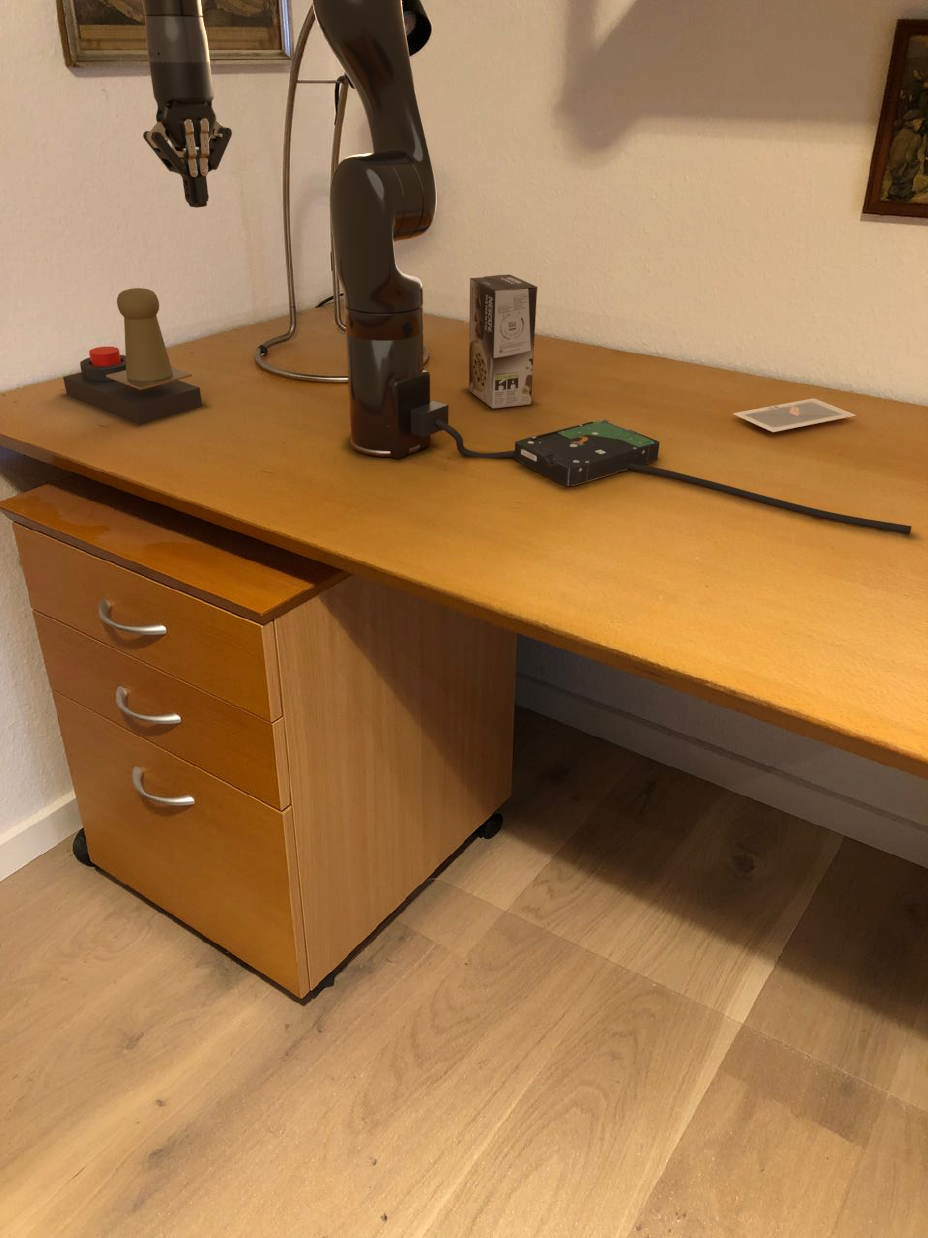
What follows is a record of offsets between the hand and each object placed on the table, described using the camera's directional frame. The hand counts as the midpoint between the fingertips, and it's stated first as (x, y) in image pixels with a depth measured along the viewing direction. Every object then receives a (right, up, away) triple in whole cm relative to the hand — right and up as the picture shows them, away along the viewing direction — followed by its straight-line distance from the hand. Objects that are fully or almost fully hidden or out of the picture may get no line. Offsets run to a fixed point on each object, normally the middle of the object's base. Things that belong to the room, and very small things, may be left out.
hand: (198, 206), depth 129 cm
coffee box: (+41, -25, +7) cm, 49 cm away
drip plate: (-6, -24, -1) cm, 24 cm away
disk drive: (+51, -37, -13) cm, 65 cm away
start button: (-14, -20, +5) cm, 25 cm away
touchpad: (+81, -30, 0) cm, 86 cm away
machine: (-10, -26, +4) cm, 28 cm away
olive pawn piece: (-6, -23, -1) cm, 24 cm away
